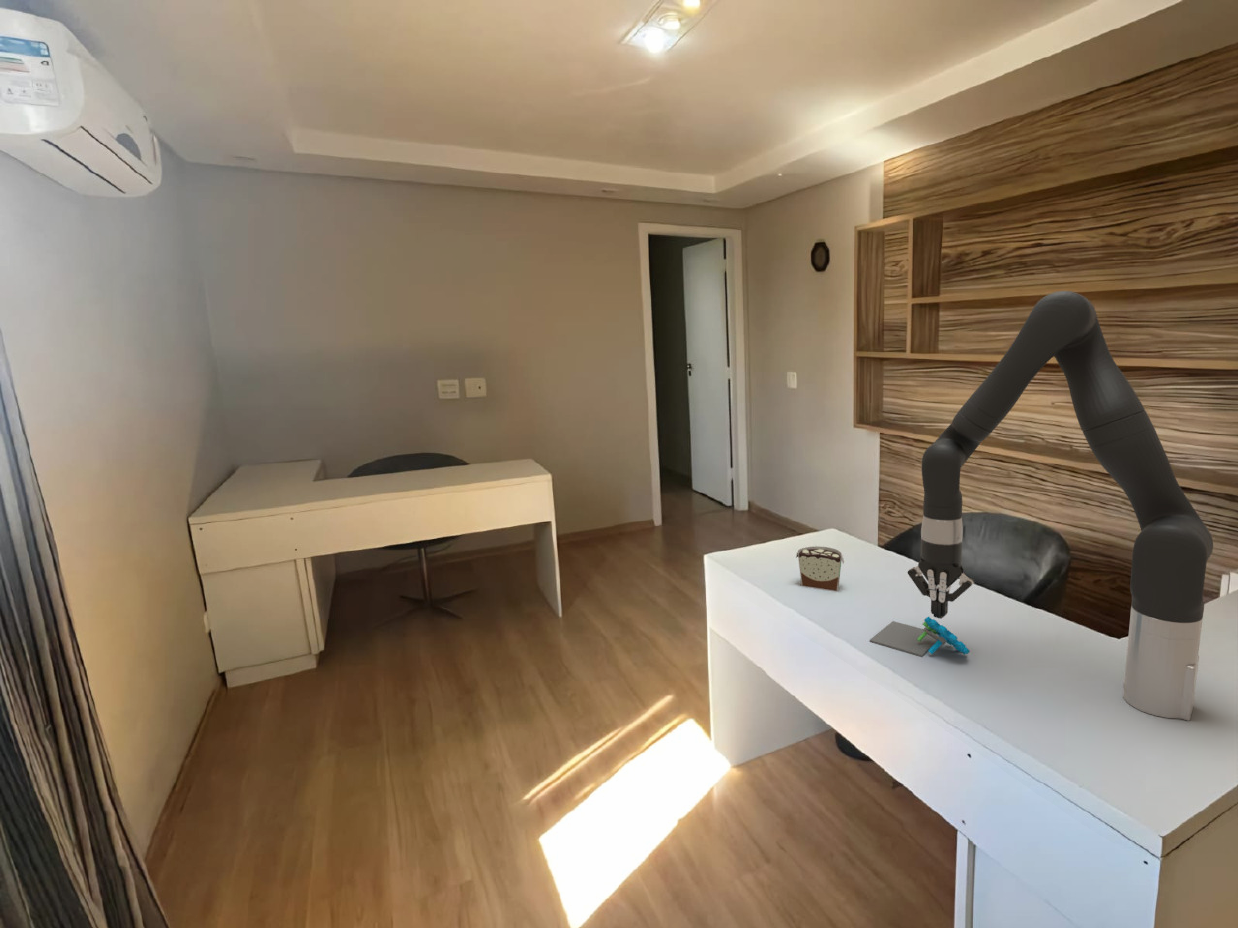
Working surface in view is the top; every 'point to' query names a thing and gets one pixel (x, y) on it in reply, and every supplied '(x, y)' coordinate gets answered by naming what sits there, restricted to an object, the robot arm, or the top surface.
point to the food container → (820, 567)
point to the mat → (904, 638)
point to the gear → (941, 636)
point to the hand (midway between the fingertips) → (938, 616)
